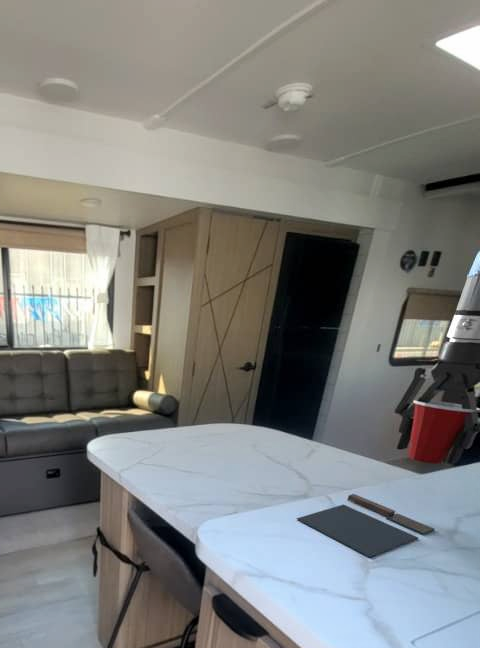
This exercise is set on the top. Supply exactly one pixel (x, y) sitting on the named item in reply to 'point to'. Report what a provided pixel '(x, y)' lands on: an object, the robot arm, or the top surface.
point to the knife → (391, 515)
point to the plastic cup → (436, 430)
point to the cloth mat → (357, 530)
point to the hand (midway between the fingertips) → (425, 455)
